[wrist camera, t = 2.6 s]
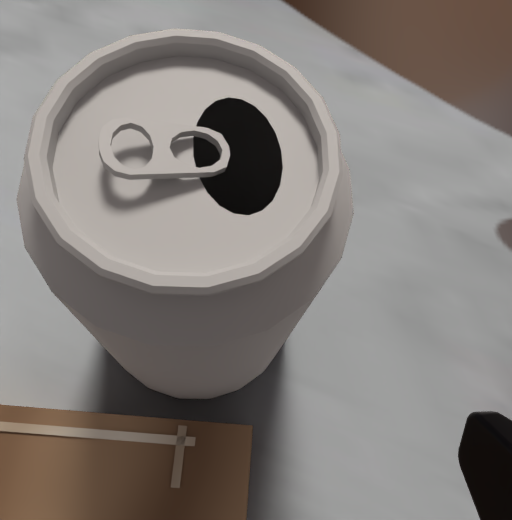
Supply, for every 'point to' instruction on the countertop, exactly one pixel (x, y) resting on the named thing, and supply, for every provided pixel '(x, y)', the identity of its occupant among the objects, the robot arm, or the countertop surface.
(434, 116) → the countertop surface
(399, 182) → the countertop surface
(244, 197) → the can
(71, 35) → the countertop surface
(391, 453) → the countertop surface
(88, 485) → the plank
